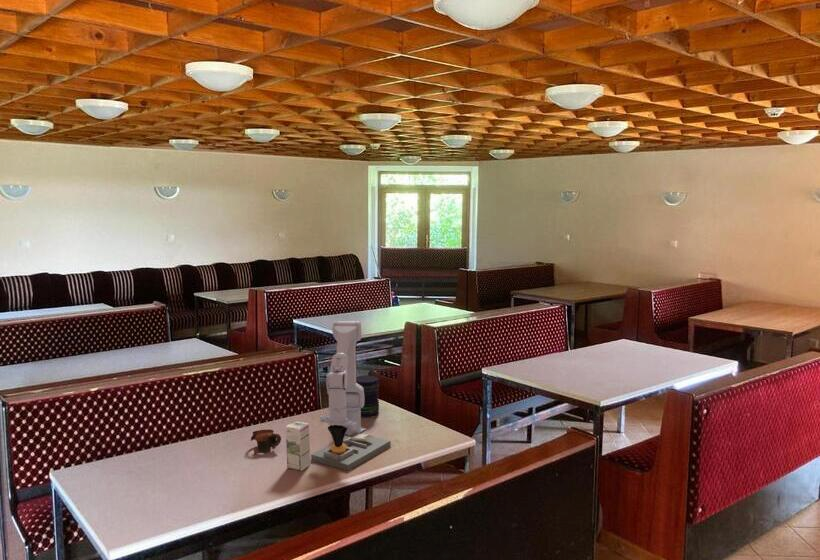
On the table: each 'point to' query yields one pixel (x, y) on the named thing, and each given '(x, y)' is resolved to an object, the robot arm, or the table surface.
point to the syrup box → (298, 445)
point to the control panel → (351, 452)
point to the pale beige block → (347, 440)
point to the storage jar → (369, 395)
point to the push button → (338, 449)
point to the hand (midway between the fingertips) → (338, 445)
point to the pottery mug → (265, 440)
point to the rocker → (362, 437)
